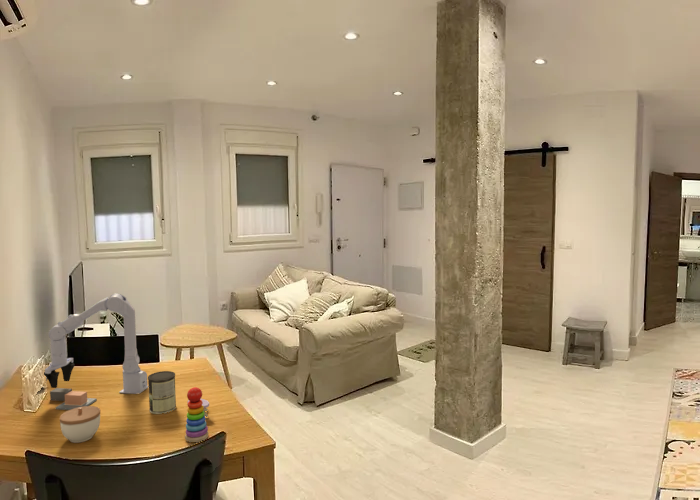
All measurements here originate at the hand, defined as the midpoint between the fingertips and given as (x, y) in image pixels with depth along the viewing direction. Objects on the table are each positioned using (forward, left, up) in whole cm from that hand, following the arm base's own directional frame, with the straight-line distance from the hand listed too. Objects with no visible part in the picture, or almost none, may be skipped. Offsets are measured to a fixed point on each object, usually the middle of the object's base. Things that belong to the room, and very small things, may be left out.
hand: (60, 384), depth 201 cm
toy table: (-65, +9, -7) cm, 66 cm away
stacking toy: (-72, +27, -7) cm, 77 cm away
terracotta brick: (-10, +5, -6) cm, 13 cm away
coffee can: (-48, +5, -7) cm, 49 cm away
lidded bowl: (-31, +31, -7) cm, 44 cm away
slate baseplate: (-11, +5, -6) cm, 13 cm away
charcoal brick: (0, 0, -7) cm, 7 cm away
